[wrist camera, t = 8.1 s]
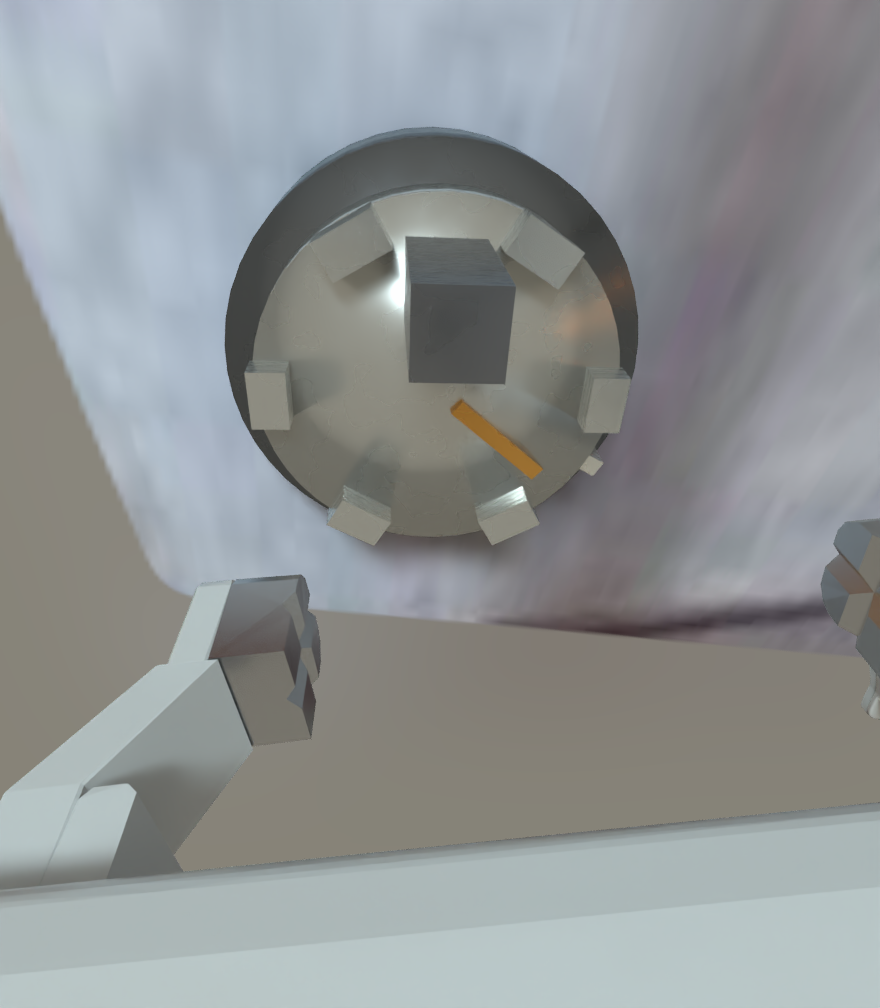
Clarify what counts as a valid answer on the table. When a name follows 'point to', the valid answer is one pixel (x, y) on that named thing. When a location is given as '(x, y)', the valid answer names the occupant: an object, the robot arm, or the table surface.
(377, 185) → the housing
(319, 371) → the round clock
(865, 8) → the table surface
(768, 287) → the table surface
